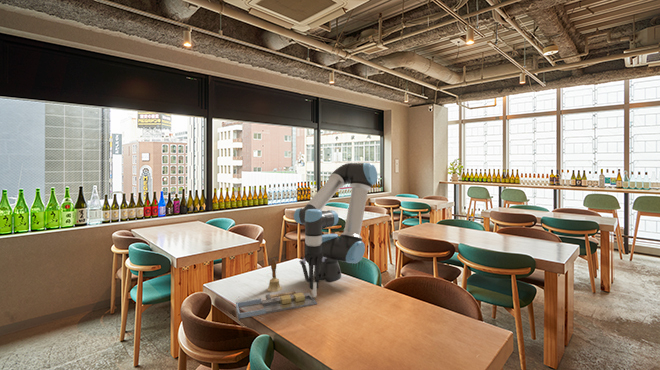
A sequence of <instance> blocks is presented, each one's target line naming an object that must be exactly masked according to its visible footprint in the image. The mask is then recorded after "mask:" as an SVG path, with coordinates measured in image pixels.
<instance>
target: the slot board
mask: <svg viewBox="0 0 660 370" xmlns="http://www.w3.org/2000/svg"><path fill="white" fill-rule="evenodd" d="M303 294H304V296H305V301H304V302H298V303H295V302H294V301H293V294H291V295H290V297H291V304H287V305H281V303H280V297H274V298H271V299H269V300H268V299H264V300H261V304H262V307H263V309H266V314H267V315H268V314H271V313H272V314H273V313H276V312H283V311H288V310H294V309H298V308H303V307H308V306H309V307H310V306H315V305H318V301H317V300H316V299H315V297H313V296H312V294H311V293H310V292H306V293H303Z"/></svg>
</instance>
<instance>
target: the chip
mask: <svg viewBox="0 0 660 370" xmlns="http://www.w3.org/2000/svg"><path fill="white" fill-rule="evenodd" d="M290 296H291V295H284V296H279V298H280V303H281V305H287V304H291V297H290Z"/></svg>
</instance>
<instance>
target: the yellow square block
mask: <svg viewBox="0 0 660 370" xmlns="http://www.w3.org/2000/svg"><path fill="white" fill-rule="evenodd" d="M292 295H293V301H294V302H295V303H298V302H304V301H305V296H304V293H303V292H296V294H292Z"/></svg>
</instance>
